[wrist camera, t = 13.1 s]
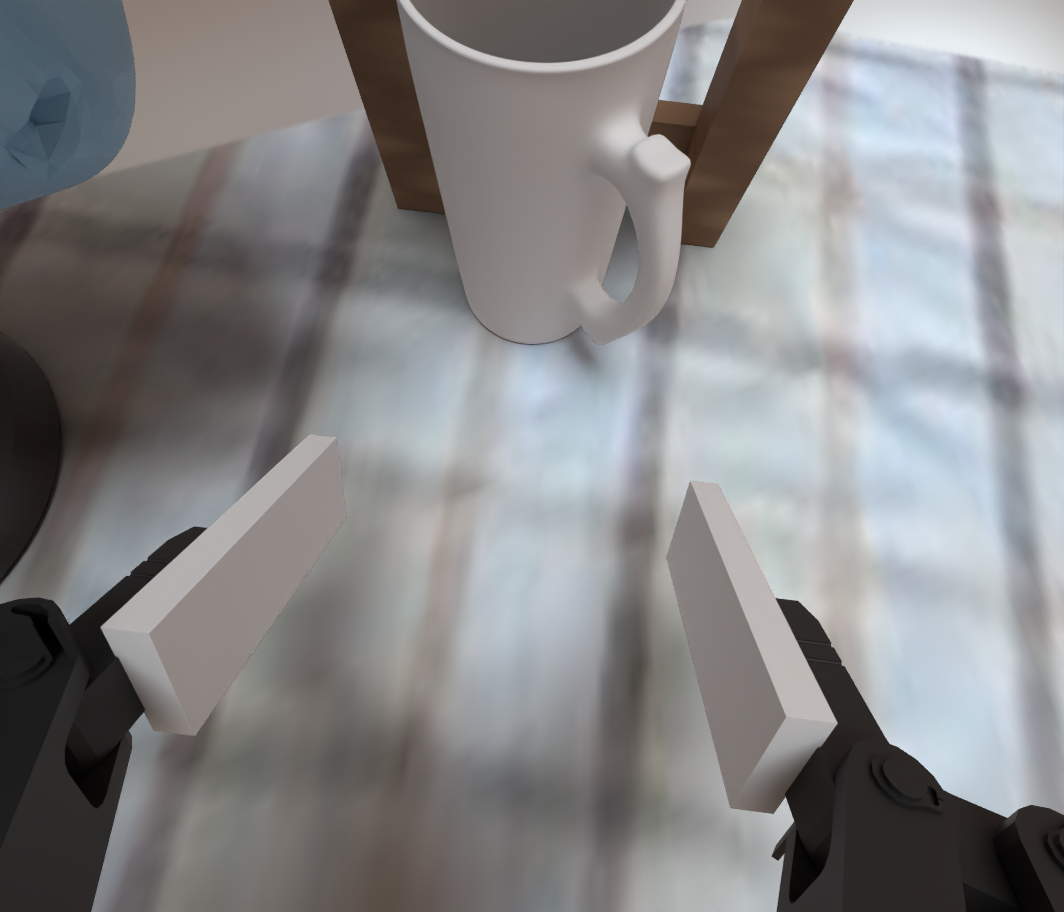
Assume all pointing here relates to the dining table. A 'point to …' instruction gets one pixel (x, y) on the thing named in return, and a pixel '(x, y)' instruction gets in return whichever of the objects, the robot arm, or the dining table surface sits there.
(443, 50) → the mug
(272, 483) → the robot arm
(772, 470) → the dining table surface
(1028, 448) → the dining table surface
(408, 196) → the brown wooden frame
